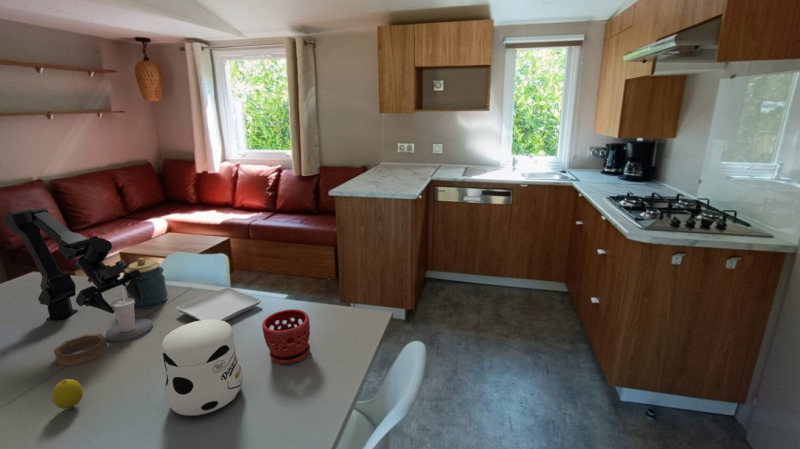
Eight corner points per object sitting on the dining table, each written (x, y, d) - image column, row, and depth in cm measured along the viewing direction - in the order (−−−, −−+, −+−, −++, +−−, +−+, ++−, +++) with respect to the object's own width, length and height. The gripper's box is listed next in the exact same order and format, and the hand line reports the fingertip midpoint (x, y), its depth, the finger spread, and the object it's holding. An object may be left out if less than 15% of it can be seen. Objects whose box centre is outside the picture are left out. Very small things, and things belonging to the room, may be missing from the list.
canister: (155, 309, 146) (147, 264, 142) (120, 309, 147) (110, 264, 142) (175, 293, 159) (168, 252, 154) (143, 293, 159) (134, 252, 154)
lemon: (67, 400, 100) (60, 373, 98) (90, 399, 101) (83, 372, 99) (50, 417, 95) (42, 388, 93) (75, 415, 96) (67, 387, 93)
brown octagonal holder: (75, 343, 125) (73, 335, 124) (114, 341, 126) (112, 333, 125) (47, 366, 114) (44, 357, 113) (90, 364, 115) (87, 355, 114)
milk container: (256, 397, 101) (248, 334, 96) (183, 435, 90) (169, 366, 85) (227, 367, 113) (219, 310, 108) (159, 398, 101) (146, 335, 96)
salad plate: (264, 307, 149) (263, 298, 148) (211, 333, 131) (210, 323, 130) (228, 293, 160) (227, 286, 159) (175, 316, 142) (174, 307, 141)
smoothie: (135, 332, 129) (127, 292, 125) (113, 335, 128) (103, 295, 124) (142, 322, 135) (135, 284, 131) (121, 325, 134) (113, 286, 130)
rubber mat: (120, 322, 138) (120, 319, 138) (160, 320, 139) (159, 317, 138) (96, 343, 125) (95, 340, 125) (139, 341, 126) (139, 338, 126)
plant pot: (296, 338, 128) (294, 304, 124) (320, 355, 119) (317, 319, 115) (257, 355, 119) (253, 318, 116) (279, 375, 110) (276, 336, 107)
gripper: (73, 266, 118) (107, 305, 117) (132, 246, 135) (163, 280, 134) (61, 287, 122) (94, 325, 122) (120, 265, 139) (149, 298, 139)
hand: (127, 306), depth 129 cm, fingers open, 9 cm apart
